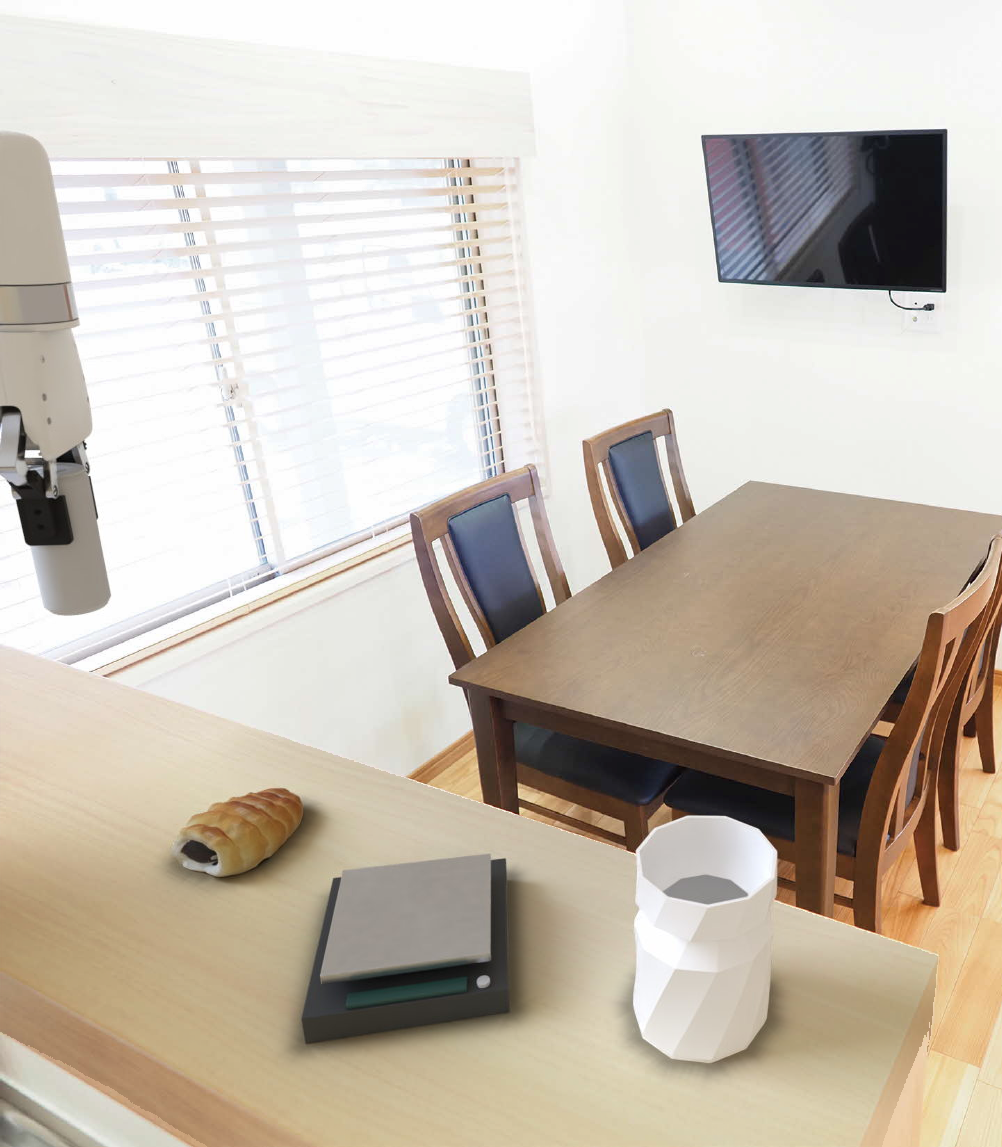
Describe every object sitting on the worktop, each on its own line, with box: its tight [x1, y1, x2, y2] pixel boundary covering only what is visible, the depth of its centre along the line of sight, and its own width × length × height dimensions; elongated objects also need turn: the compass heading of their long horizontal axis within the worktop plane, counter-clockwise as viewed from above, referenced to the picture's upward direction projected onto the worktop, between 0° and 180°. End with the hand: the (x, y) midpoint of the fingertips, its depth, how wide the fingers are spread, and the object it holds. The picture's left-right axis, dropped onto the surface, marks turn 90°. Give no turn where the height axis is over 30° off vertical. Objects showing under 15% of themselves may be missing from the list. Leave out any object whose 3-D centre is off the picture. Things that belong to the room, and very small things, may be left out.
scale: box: [300, 857, 511, 1045], centre depth 66 cm, size 12×13×2 cm
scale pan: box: [320, 853, 492, 985], centre depth 65 cm, size 10×10×1 cm
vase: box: [632, 815, 778, 1064], centre depth 61 cm, size 9×9×12 cm
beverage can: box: [28, 463, 112, 617], centre depth 81 cm, size 5×5×12 cm
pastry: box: [170, 787, 304, 878], centre depth 75 cm, size 9×7×4 cm
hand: (63, 530), depth 80 cm, fingers closed on beverage can, 4 cm apart
